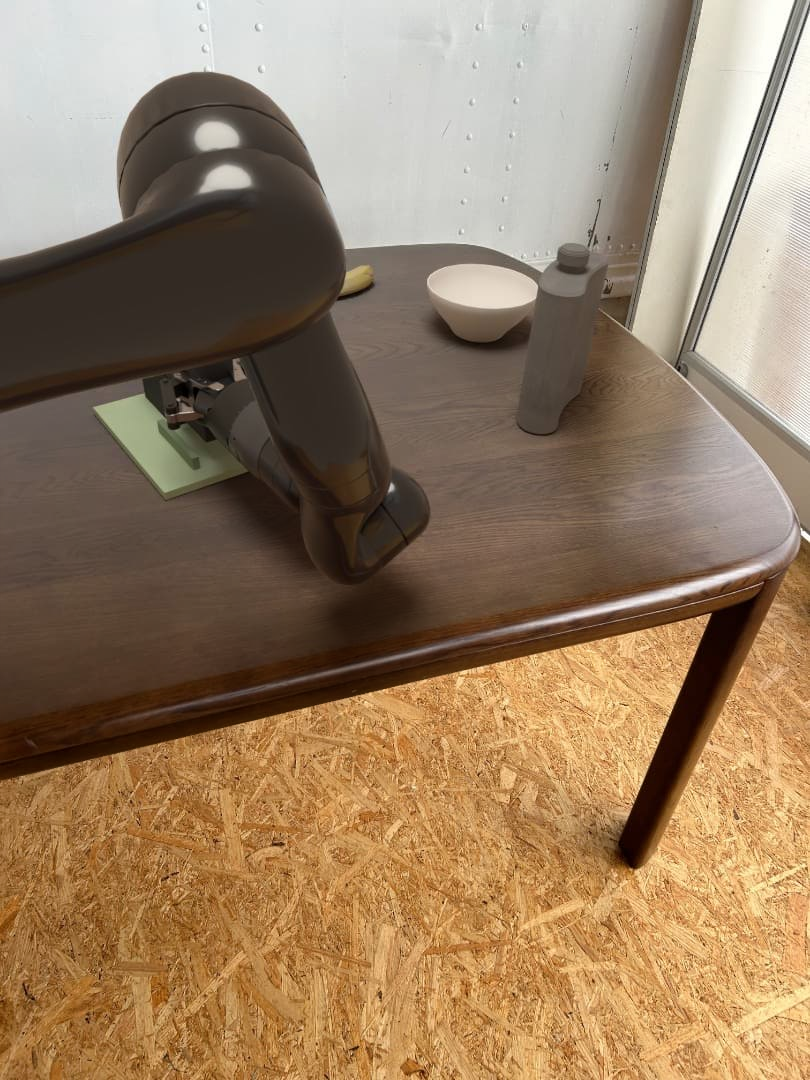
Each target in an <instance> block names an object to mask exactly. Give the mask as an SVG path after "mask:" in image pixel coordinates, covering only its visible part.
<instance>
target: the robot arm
mask: <svg viewBox="0 0 810 1080" xmlns="http://www.w3.org/2000/svg"><path fill="white" fill-rule="evenodd" d="M319 177H320V176H319V175H318V172H317V170H316V166H315V164H314V162H313V159H312V156H311V155H310V152H309V150H308V148H307V145H306V143H305V140H304V139H303V137H302V135H301V133H300V132H299V130H298V129H297V127H295V125H294V124H293V122H292V121H291V119H290V117H289V116H288V115H287V114H286V112H285V111H284V110H283V109H282V108H281V107H280V106H279V105H278V104H277V103H276V102H275V101H274V100H273V99H272V98H271V97H270V96H269V95H267V93H265V92H263V91H262V90H261V89H259V88H257V87H256V86H254V85H253V84H252V83H250V82H248V81H245V80H242V79H240V78H238V77H236V76H233V75H229V74H226V73H225V74H224V73H220V72H215V71H190V72H186V73H182V74H178V75H174V76H173V75H172V76H170V77H169V78H166V79H164V80H163V81H161V82H159V83H157V84H155V86H154V87H152V88H151V89H150V90H148V91H147V92H146V93H145V94H143V95H142V96H141V97H140V98H139V100H138V101H137V102H136V104H135V105H134V106H133V108H132V110H131V111H130V112H129V113H128V116H127V117H126V120H125V122H124V124H123V127H122V129H121V133H120V137H119V141H118V147H117V152H116V190H117V197H118V203H119V207H120V214H121V219H122V221H119V222H117V223H115V224H112V225H111V226H108V227H105V228H104V229H101V230H98V231H95V232H92V233H90V234H88V235H85V236H82V237H78V238H75V239H73V240H69V241H66V242H62V243H59V244H55V245H53V246H48V247H46V248H43V249H39V250H35V251H32V252H29V253H25V254H20V255H16V256H11V257H7V258H2V259H0V414H4V413H7V412H11V411H14V410H18V409H22V408H25V407H29V406H32V405H36V404H38V403H39V404H40V403H43V402H46V401H50V400H53V399H57V398H62V397H64V396H65V397H66V396H71V395H74V394H78V393H83V392H88V391H91V390H97V389H100V388H101V389H102V388H105V387H110V386H114V385H118V384H124V383H128V382H135V381H138V380H142V379H144V378H149V377H154V376H159V375H163V377H164V379H162V380H160V387H161V392H162V398H163V405H164V410H165V415H166V420H167V426H168V429H170V430H177V429H179V428H180V427H181V425H180V422H183V421H191V420H195V421H196V422H197V423H198V424H200V425H203V426H206V427H208V428H209V429H210V430H211V432H212V433H213V435H214V436H215V438H216V439H217V440H218V441H219V442H220V443H221V444H222V445H223V446H224V447H225V448H226V449H227V450H228V451H229V452H230V453H231V454H232V455H233V456H234V457H235V458H236V460H237V461H238V462H240V463H241V464H242V465H243V466H244V467H245V468H246V469H247V470H248V472H249V473H250V474H251V475H252V476H254V477H255V478H256V479H258V480H259V481H261V482H263V483H264V484H265V485H266V486H267V487H268V488H269V489H270V490H271V491H272V493H274V494H275V495H276V496H277V498H278V499H280V501H282V502H283V503H284V504H285V505H286V506H287V507H288V508H289V509H290V510H292V511H293V512H295V513H297V514H299V523H300V531H301V536H302V541H303V543H304V547H305V550H306V552H307V554H308V556H309V558H310V560H311V562H312V563H313V565H314V566H315V567H316V569H317V570H318V571H319V572H320V573H321V574H322V575H323V576H324V577H325V578H327V579H328V580H329V581H331V582H333V583H335V584H338V585H341V586H357V585H361V584H364V583H365V582H367V581H369V580H370V579H372V578H373V577H374V576H375V575H376V574H378V573H379V572H380V571H381V570H382V569H384V568H385V567H386V566H388V564H389V563H391V562H392V561H393V560H394V559H395V558H396V557H398V555H400V554H401V553H402V552H403V551H404V550H406V549H407V548H408V547H409V546H410V545H411V544H413V543H414V542H415V541H417V539H419V538H420V537H421V536H422V535H423V533H425V531H426V530H427V528H428V526H429V525H430V521H431V516H432V515H431V514H432V513H431V512H432V511H431V505H430V500H429V498H428V495H427V493H426V492H425V490H424V489H423V487H422V486H421V484H420V483H419V482H418V481H417V480H416V479H415V478H414V477H412V476H411V475H410V474H409V473H408V472H407V471H405V470H403V469H401V468H400V467H398V466H397V465H394V464H392V462H391V459H390V456H389V453H388V450H387V446H386V444H385V441H384V438H383V436H382V432H381V429H380V426H379V423H378V420H377V418H376V415H375V413H374V410H373V408H372V405H371V402H370V399H369V398H368V395H367V393H366V391H365V389H364V387H363V383H362V382H361V379H360V377H359V374H358V373H357V371H356V368H355V366H354V363H353V361H352V359H351V357H350V354H349V352H348V350H347V347H346V345H345V342H344V340H343V338H342V336H341V333H340V331H339V328H338V326H337V323H336V321H335V318H334V315H333V313H332V308H333V307H334V305H335V304H336V302H337V300H338V298H339V297H340V296H339V294H340V292H341V290H342V288H343V286H344V281H345V277H346V272H348V258H347V251H346V247H345V243H344V239H343V236H342V234H341V231H340V228H339V225H338V222H337V220H336V218H335V214H334V211H333V209H332V206H331V204H330V202H329V200H328V197H327V195H326V193H325V191H324V188H323V185H322V183H321V180H320V178H319ZM236 359H239V361H237V360H236ZM229 360H233V367H234V368H231V369H229V374H230V376H229V377H225V378H223V379H221V380H219V381H210V380H208V379H206V378H204V377H198V378H197V377H196V376H193V377H192V376H191V375H189V374H187V373H185V371H184V370H188V369H193V368H198V367H203V366H207V365H212V364H217V363H221V362H225V361H229ZM178 397H179V398H178ZM176 398H177V399H176ZM181 399H182V400H184V401H186V402H188V403H189V404H190V406H191V407H187V406H186V405H185V404H184V403H181Z"/></svg>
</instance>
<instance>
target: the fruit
mask: <svg viewBox="0 0 810 1080" xmlns="http://www.w3.org/2000/svg"><path fill="white" fill-rule="evenodd" d="M374 274H375V273H374V270H373V269H372V267H371V265H369V264H367V265H366V264H365V265H364V264H363V265H358V266H356V267H355V268H353V269H351V270H349V271H347V272H346V277H345V281H344V286H343V288H342V290H341V292H340V294H339V296H338V297H342V296H348V295H351V294H354V293H357V292H360V291H361V290H362V291H363V290H364V289H366V288H367V287H369V286H370V285H371V284H372V282H373V281H374V280H375V275H374Z"/></svg>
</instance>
